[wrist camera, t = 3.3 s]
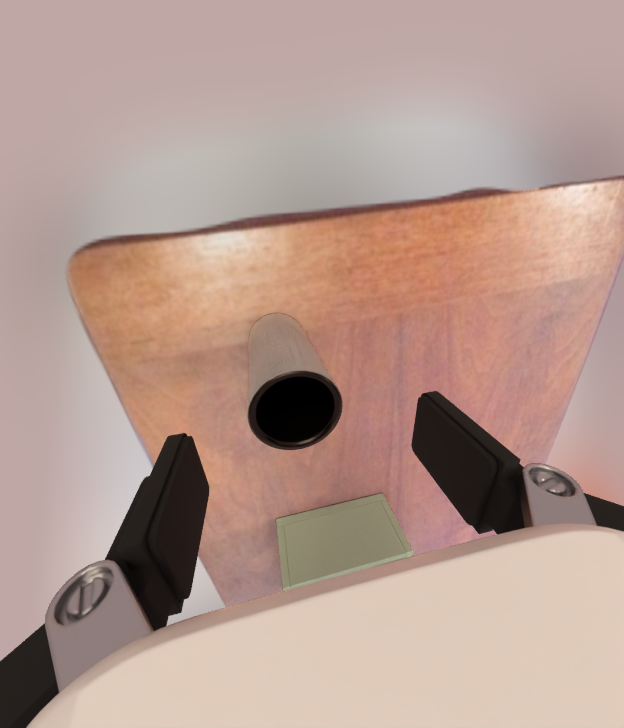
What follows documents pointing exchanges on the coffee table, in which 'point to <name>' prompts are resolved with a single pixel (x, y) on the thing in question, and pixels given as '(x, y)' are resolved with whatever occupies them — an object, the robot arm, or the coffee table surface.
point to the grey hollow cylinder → (288, 386)
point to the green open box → (339, 540)
